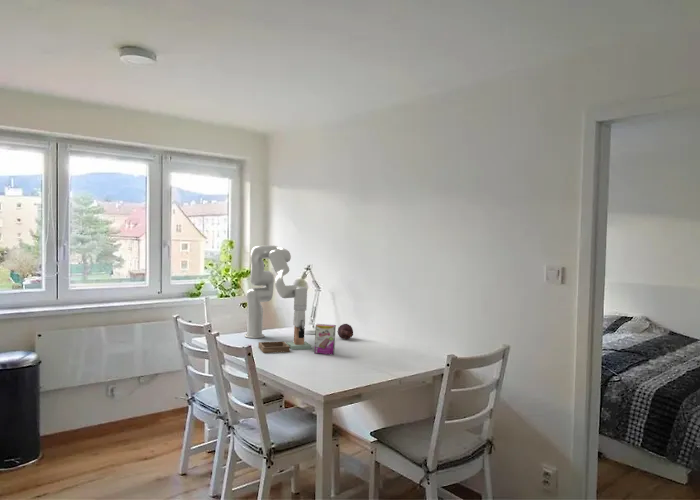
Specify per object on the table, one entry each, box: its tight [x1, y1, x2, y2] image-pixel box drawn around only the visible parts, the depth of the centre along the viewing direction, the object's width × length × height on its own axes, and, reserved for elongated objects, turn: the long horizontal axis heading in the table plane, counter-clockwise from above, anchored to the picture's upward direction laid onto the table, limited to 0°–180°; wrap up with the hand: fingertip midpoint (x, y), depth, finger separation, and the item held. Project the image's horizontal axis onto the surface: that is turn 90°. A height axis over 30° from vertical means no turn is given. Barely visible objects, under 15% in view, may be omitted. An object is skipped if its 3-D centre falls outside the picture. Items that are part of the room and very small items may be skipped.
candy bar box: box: [314, 323, 337, 355], centre depth 297 cm, size 11×5×16 cm, turn 84°
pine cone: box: [336, 323, 354, 340], centre depth 342 cm, size 18×10×10 cm, turn 20°
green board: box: [286, 340, 313, 351], centre depth 312 cm, size 12×12×2 cm
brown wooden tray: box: [257, 341, 291, 354], centre depth 302 cm, size 15×15×3 cm
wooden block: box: [293, 325, 305, 345], centre depth 311 cm, size 5×5×10 cm
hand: (299, 336), depth 312 cm, fingers open, 9 cm apart
